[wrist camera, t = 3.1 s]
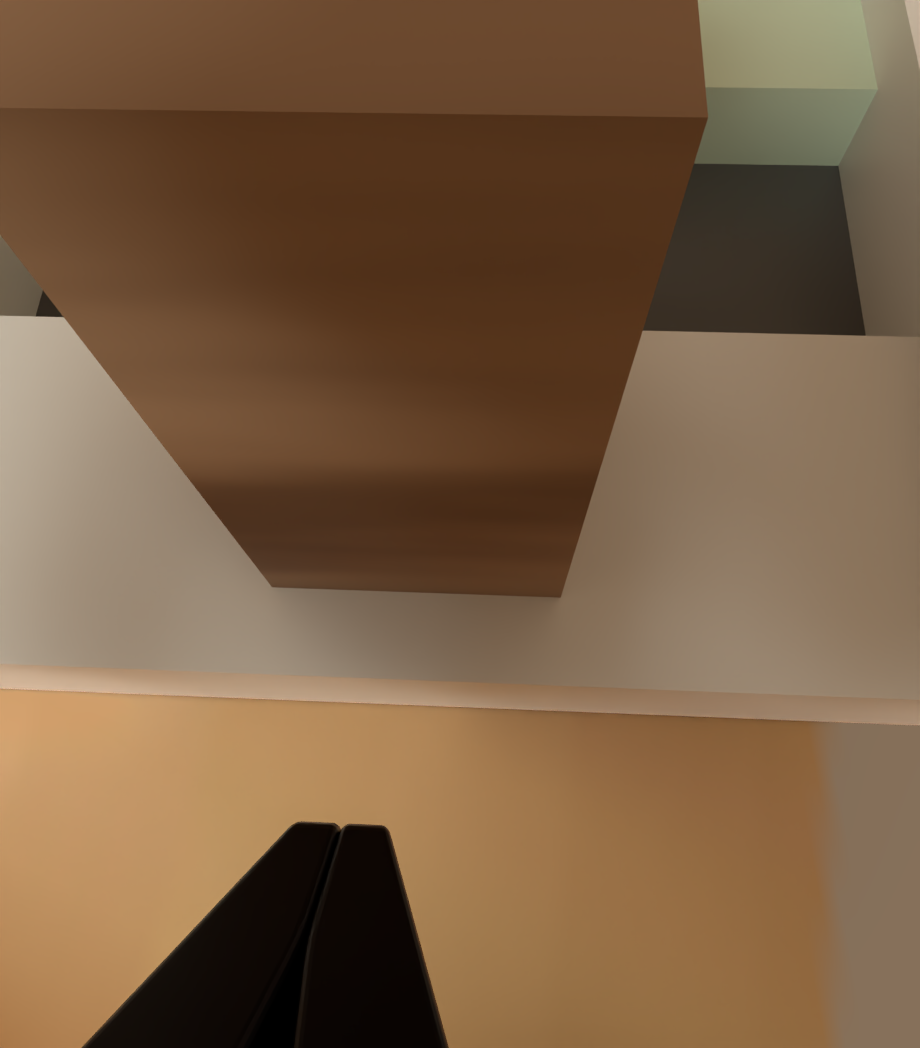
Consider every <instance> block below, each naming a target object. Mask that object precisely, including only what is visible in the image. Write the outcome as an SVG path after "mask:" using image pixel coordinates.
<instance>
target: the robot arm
mask: <svg viewBox="0 0 920 1048" xmlns="http://www.w3.org/2000/svg"><path fill="white" fill-rule="evenodd" d="M82 1048H449V1047H448V1044H447V1040H446V1036H445V1033H444V1029H443V1025H442V1022H441V1018H440V1014H439V1011H438V1007H437V1003H436V1000H435V996H434V992H433V989H432V985H431V981H430V978H429V974H428V970H427V967H426V963H425V959H424V956H423V952H422V948H421V945H420V941H419V938H418V934H417V930H416V927H415V923H414V919H413V916H412V912H411V908H410V905H409V901H408V897H407V894H406V890H405V886H404V883H403V879H402V875H401V872H400V868H399V864H398V861H397V857H396V853H395V850H394V846H393V842H392V839H391V835H390V832H389V830H388V829H387V828H386V827H385V826H382V825H365V824H347V825H345V826H344V827H343V828H342V829H341V828H340V827H339V826H338V825H337V824H335V823H322V822H297V823H295V824H293V825H292V826H290V827H289V828H288V829H287V830H286V831H285V832H284V834H283V835H282V836H281V837H280V838H279V839H278V840H277V841H276V842H275V843H274V844H273V845H272V846H271V847H270V848H269V849H268V851H267V852H266V853H265V854H264V855H263V856H262V857H261V858H260V859H259V860H258V861H257V862H256V863H255V864H254V865H253V866H252V867H251V869H250V870H249V871H248V872H247V873H246V874H245V875H244V876H243V877H242V878H241V879H240V880H239V881H238V882H237V883H236V884H235V886H234V887H233V888H232V889H231V890H230V891H229V892H228V893H227V894H226V895H225V896H224V897H223V898H222V899H221V900H220V901H219V902H218V904H217V905H216V906H215V907H214V908H213V909H212V910H211V911H210V912H209V913H208V914H207V915H206V916H205V917H204V918H203V919H202V921H201V922H200V923H199V924H198V925H197V926H196V927H195V928H194V929H193V930H192V931H191V932H190V933H189V934H188V935H187V936H186V938H185V939H184V940H183V941H182V942H181V943H180V944H179V945H178V946H177V947H176V948H175V949H174V950H173V951H172V952H171V953H170V954H169V956H168V957H167V958H166V959H165V960H164V961H163V962H162V963H161V964H160V965H159V966H158V967H157V968H156V969H155V970H154V971H153V973H152V974H151V975H150V976H149V977H148V978H147V979H146V980H145V981H144V982H143V983H142V984H141V985H140V986H139V987H138V988H137V989H136V991H135V992H134V993H133V994H132V995H131V996H130V997H129V998H128V999H127V1000H126V1001H125V1002H124V1003H123V1004H122V1005H121V1006H120V1008H119V1009H118V1010H117V1011H116V1012H115V1013H114V1014H113V1015H112V1016H111V1017H110V1018H109V1019H108V1020H107V1021H106V1022H105V1023H104V1024H103V1026H102V1027H101V1028H100V1029H99V1030H98V1031H97V1032H96V1033H95V1034H94V1035H93V1036H92V1037H91V1038H90V1039H89V1040H88V1041H87V1043H86V1044H85V1045H84V1046H83V1047H82Z"/></svg>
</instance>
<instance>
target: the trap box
mask: <svg viewBox="0 0 920 1048" xmlns="http://www.w3.org/2000/svg"><path fill="white" fill-rule="evenodd" d="M698 9H699V20H700V31H701V42H702V54H703V65H704V76H705V88H706V99H707V110H708V120H707V123H706V126H705V129H704V133H703V136H702V139H701V142H700V146H699V149H698V152H697V155H696V159H695V162H694V165H693V168H692V172H691V175H690V178H689V182H688V185H687V188H686V191H685V195H684V198H683V201H682V204H681V208H680V211H679V214H678V217H677V221H676V224H675V227H674V230H673V234H672V237H671V240H670V243H669V247H668V250H667V253H666V256H665V260H664V263H663V266H662V269H661V273H660V276H659V279H658V282H657V286H656V289H655V292H654V295H653V299H652V302H651V305H650V308H649V312H648V315H647V318H646V321H645V325H644V328H643V331H642V334H641V338H640V341H639V344H638V348H637V351H636V354H635V357H634V361H633V364H632V367H631V370H630V374H629V377H628V380H627V383H626V387H625V390H624V393H623V396H622V400H621V403H620V406H619V409H618V413H617V416H616V419H615V422H614V426H613V429H612V432H611V435H610V439H609V442H608V445H607V448H606V452H605V455H604V458H603V461H602V465H601V468H600V471H599V474H598V478H597V481H596V484H595V487H594V491H593V494H592V497H591V501H590V504H589V507H588V510H587V514H586V517H585V520H584V523H583V527H582V530H581V533H580V536H579V540H578V543H577V546H576V549H575V553H574V556H573V559H572V562H571V566H570V569H569V572H568V575H567V579H566V582H565V585H564V588H563V592H562V595H561V598H559V597H531V596H503V595H474V594H446V593H418V592H389V591H361V590H333V589H304V588H276V587H271V585H270V584H269V583H268V581H267V580H266V579H265V577H264V576H263V575H262V574H261V572H260V571H259V570H258V568H257V567H256V566H255V564H254V563H253V562H252V561H251V559H250V558H249V557H248V555H247V554H246V553H245V552H244V550H243V549H242V548H241V546H240V545H239V544H238V542H237V541H236V540H235V539H234V537H233V536H232V535H231V533H230V532H229V531H228V529H227V528H226V527H225V526H224V524H223V523H222V522H221V520H220V519H219V518H218V517H217V515H216V514H215V513H214V511H213V510H212V509H211V507H210V506H209V505H208V504H207V502H206V501H205V500H204V498H203V497H202V496H201V494H200V493H199V492H198V491H197V489H196V488H195V487H194V485H193V484H192V483H191V482H190V480H189V479H188V478H187V476H186V475H185V474H184V472H183V471H182V470H181V469H180V467H179V466H178V465H177V463H176V462H175V461H174V459H173V458H172V457H171V456H170V454H169V453H168V452H167V450H166V449H165V448H164V447H163V445H162V444H161V443H160V441H159V440H158V439H157V437H156V436H155V435H154V434H153V432H152V431H151V430H150V428H149V427H148V426H147V424H146V423H145V422H144V421H143V419H142V418H141V417H140V415H139V414H138V413H137V412H136V410H135V409H134V408H133V406H132V405H131V404H130V402H129V401H128V400H127V399H126V397H125V396H124V395H123V393H122V392H121V391H120V389H119V388H118V387H117V386H116V384H115V383H114V382H113V380H112V379H111V378H110V377H109V375H108V374H107V373H106V371H105V370H104V369H103V367H102V366H101V365H100V364H99V362H98V361H97V360H96V358H95V357H94V356H93V354H92V353H91V352H90V351H89V349H88V348H87V347H86V345H85V344H84V343H83V342H82V340H81V339H80V338H79V336H78V335H77V334H76V332H75V331H74V330H73V329H72V327H71V326H70V325H69V323H68V322H67V321H66V319H65V318H64V317H63V316H62V314H61V313H60V312H59V310H58V309H57V308H56V307H55V305H54V304H53V303H52V301H51V300H50V299H49V297H48V296H47V295H46V294H45V292H44V291H43V290H42V288H41V287H40V286H39V284H38V283H37V282H36V281H35V279H34V278H33V277H32V275H31V274H30V273H29V272H28V270H27V269H26V268H25V266H24V265H23V264H22V262H21V261H20V260H19V259H18V257H17V256H16V255H15V253H14V252H13V251H12V249H11V248H10V247H9V246H8V244H7V243H6V242H5V240H4V239H3V238H2V237H1V235H0V688H1V689H26V690H50V691H75V692H100V693H125V694H149V695H174V696H199V697H224V698H248V699H273V700H298V701H323V702H347V703H372V704H397V705H422V706H446V707H471V708H496V709H521V710H545V711H570V712H595V713H620V714H644V715H669V716H694V717H719V718H743V719H768V720H793V721H818V722H842V723H868V724H893V725H917V726H920V0H698Z"/></svg>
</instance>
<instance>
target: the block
mask: <svg viewBox="0 0 920 1048" xmlns="http://www.w3.org/2000/svg"><path fill="white" fill-rule="evenodd" d="M707 120H708V110H707V99H706V88H705V76H704V65H703V54H702V42H701V31H700V20H699V9H698V0H0V235H1V237H2V238H3V239H4V240H5V242H6V243H7V244H8V246H9V247H10V248H11V249H12V251H13V252H14V253H15V255H16V256H17V257H18V259H19V260H20V261H21V262H22V264H23V265H24V266H25V268H26V269H27V270H28V272H29V273H30V274H31V275H32V277H33V278H34V279H35V281H36V282H37V283H38V284H39V286H40V287H41V288H42V290H43V291H44V292H45V294H46V295H47V296H48V297H49V299H50V300H51V301H52V303H53V304H54V305H55V307H56V308H57V309H58V310H59V312H60V313H61V314H62V316H63V317H64V318H65V319H66V321H67V322H68V323H69V325H70V326H71V327H72V329H73V330H74V331H75V332H76V334H77V335H78V336H79V338H80V339H81V340H82V342H83V343H84V344H85V345H86V347H87V348H88V349H89V351H90V352H91V353H92V354H93V356H94V357H95V358H96V360H97V361H98V362H99V364H100V365H101V366H102V367H103V369H104V370H105V371H106V373H107V374H108V375H109V377H110V378H111V379H112V380H113V382H114V383H115V384H116V386H117V387H118V388H119V389H120V391H121V392H122V393H123V395H124V396H125V397H126V399H127V400H128V401H129V402H130V404H131V405H132V406H133V408H134V409H135V410H136V412H137V413H138V414H139V415H140V417H141V418H142V419H143V421H144V422H145V423H146V424H147V426H148V427H149V428H150V430H151V431H152V432H153V434H154V435H155V436H156V437H157V439H158V440H159V441H160V443H161V444H162V445H163V447H164V448H165V449H166V450H167V452H168V453H169V454H170V456H171V457H172V458H173V459H174V461H175V462H176V463H177V465H178V466H179V467H180V469H181V470H182V471H183V472H184V474H185V475H186V476H187V478H188V479H189V480H190V482H191V483H192V484H193V485H194V487H195V488H196V489H197V491H198V492H199V493H200V494H201V496H202V497H203V498H204V500H205V501H206V502H207V504H208V505H209V506H210V507H211V509H212V510H213V511H214V513H215V514H216V515H217V517H218V518H219V519H220V520H221V522H222V523H223V524H224V526H225V527H226V528H227V529H228V531H229V532H230V533H231V535H232V536H233V537H234V539H235V540H236V541H237V542H238V544H239V545H240V546H241V548H242V549H243V550H244V552H245V553H246V554H247V555H248V557H249V558H250V559H251V561H252V562H253V563H254V564H255V566H256V567H257V568H258V570H259V571H260V572H261V574H262V575H263V576H264V577H265V579H266V580H267V581H268V583H269V584H270V585H271V587H276V588H304V589H333V590H361V591H389V592H418V593H446V594H474V595H503V596H531V597H559V598H561V595H562V592H563V588H564V585H565V582H566V579H567V575H568V572H569V569H570V566H571V562H572V559H573V556H574V553H575V549H576V546H577V543H578V540H579V536H580V533H581V530H582V527H583V523H584V520H585V517H586V514H587V510H588V507H589V504H590V501H591V497H592V494H593V491H594V487H595V484H596V481H597V478H598V474H599V471H600V468H601V465H602V461H603V458H604V455H605V452H606V448H607V445H608V442H609V439H610V435H611V432H612V429H613V426H614V422H615V419H616V416H617V413H618V409H619V406H620V403H621V400H622V396H623V393H624V390H625V387H626V383H627V380H628V377H629V374H630V370H631V367H632V364H633V361H634V357H635V354H636V351H637V348H638V344H639V341H640V338H641V334H642V331H643V328H644V325H645V321H646V318H647V315H648V312H649V308H650V305H651V302H652V299H653V295H654V292H655V289H656V286H657V282H658V279H659V276H660V273H661V269H662V266H663V263H664V260H665V256H666V253H667V250H668V247H669V243H670V240H671V237H672V234H673V230H674V227H675V224H676V221H677V217H678V214H679V211H680V208H681V204H682V201H683V198H684V195H685V191H686V188H687V185H688V182H689V178H690V175H691V172H692V168H693V165H694V162H695V159H696V155H697V152H698V149H699V146H700V142H701V139H702V136H703V133H704V129H705V126H706V123H707Z"/></svg>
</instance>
